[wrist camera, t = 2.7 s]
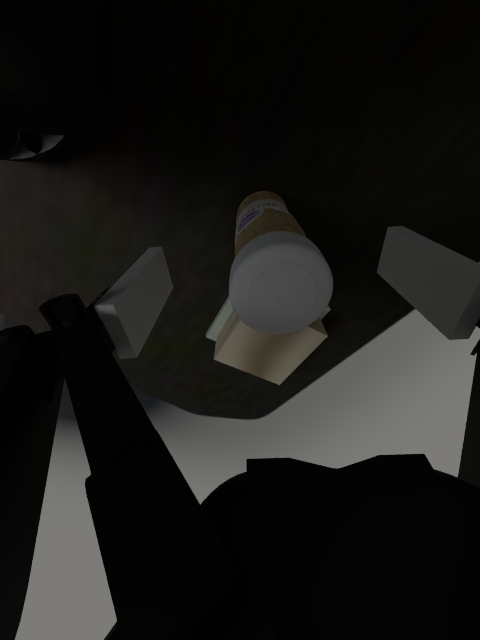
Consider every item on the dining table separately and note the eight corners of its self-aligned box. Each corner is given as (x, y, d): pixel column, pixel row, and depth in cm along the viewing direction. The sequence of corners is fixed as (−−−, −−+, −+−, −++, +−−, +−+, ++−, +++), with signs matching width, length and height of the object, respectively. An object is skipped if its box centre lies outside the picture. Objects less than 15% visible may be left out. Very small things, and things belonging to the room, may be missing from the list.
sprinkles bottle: (255, 177, 19) (271, 219, 9) (299, 211, 21) (360, 283, 10) (226, 227, 22) (208, 310, 11) (267, 254, 23) (288, 351, 12)
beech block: (217, 334, 28) (213, 359, 25) (252, 278, 24) (254, 300, 21) (275, 359, 30) (279, 384, 27) (317, 312, 26) (327, 336, 23)
